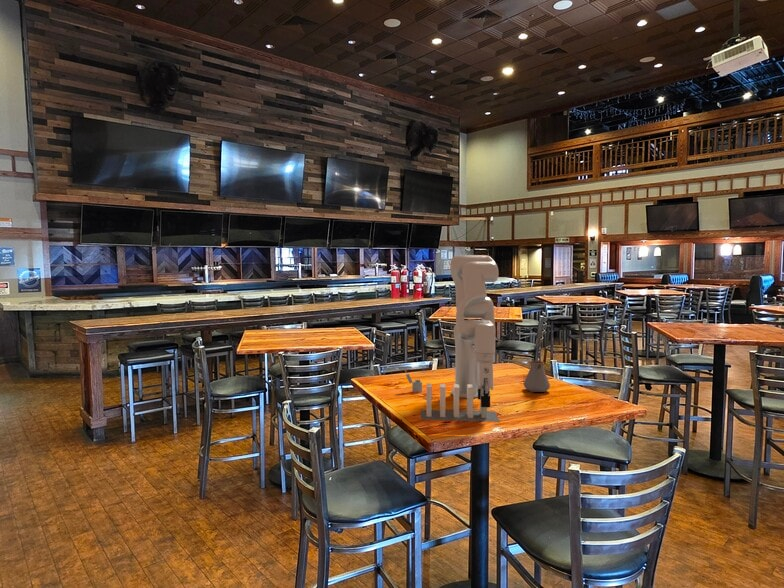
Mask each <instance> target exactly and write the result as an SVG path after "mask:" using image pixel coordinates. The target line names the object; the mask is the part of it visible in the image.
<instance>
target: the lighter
mask: <svg viewBox="0 0 784 588" xmlns="http://www.w3.org/2000/svg"><path fill="white" fill-rule="evenodd" d="M405 376H406V378H407V380H408V382H409V384H412V388H411V389H412V390H411V391H412V393H423V381H421V380H420V379H415V380H414V381H413V379H412V378H411V376H410V373H409V372H408V373H407V374H405Z"/></svg>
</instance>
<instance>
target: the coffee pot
mask: <svg viewBox="0 0 784 588" xmlns="http://www.w3.org/2000/svg"><path fill="white" fill-rule="evenodd" d="M528 363H529V365H530V368H529V371H528V373H527V375H526V377H525V379H524V382H523V387H524V388H525V389H526V390H527V391H528V390H529V391H532V392H531V393H533V392H544V393H546V392H545V391H548V390H549V389H550V387H551V384H550V381H549V378H548V377H547V373H546V371H545V369H544V366H545V362H544V361H538V360H531V361H529V362H528ZM529 391H528V392H529Z"/></svg>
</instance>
